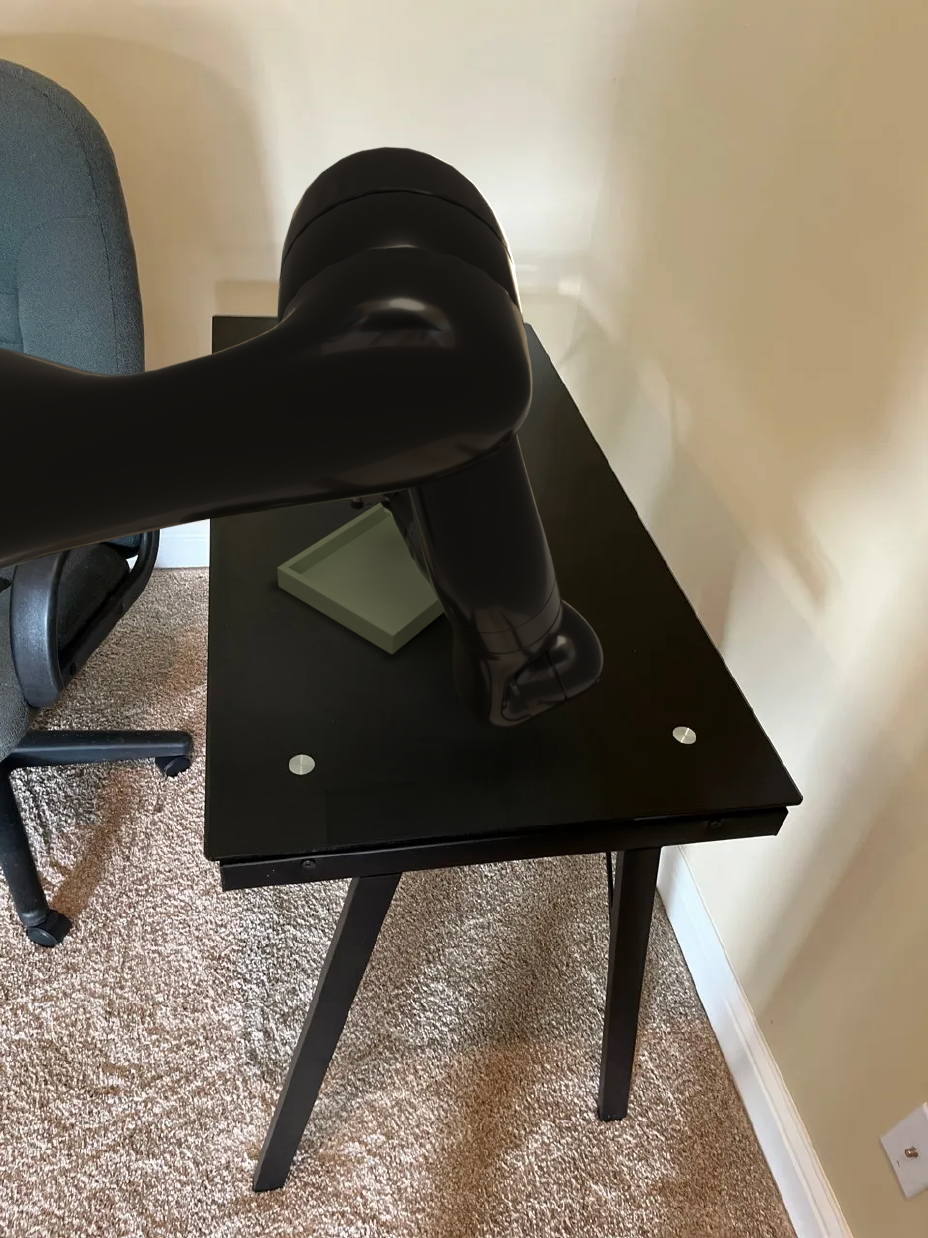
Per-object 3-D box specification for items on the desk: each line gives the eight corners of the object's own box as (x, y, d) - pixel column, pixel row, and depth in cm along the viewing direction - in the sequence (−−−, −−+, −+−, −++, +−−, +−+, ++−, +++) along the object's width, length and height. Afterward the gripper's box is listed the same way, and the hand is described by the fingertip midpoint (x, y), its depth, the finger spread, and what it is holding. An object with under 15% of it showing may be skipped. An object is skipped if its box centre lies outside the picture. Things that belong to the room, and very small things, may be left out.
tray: (392, 655, 82) (393, 636, 80) (278, 586, 88) (276, 567, 86) (501, 564, 94) (504, 546, 92) (395, 509, 100) (396, 491, 98)
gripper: (534, 486, 69) (464, 393, 81) (369, 506, 65) (320, 404, 77) (521, 557, 74) (457, 459, 86) (367, 580, 70) (322, 474, 82)
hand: (393, 434), depth 81 cm, fingers closed on milkshake, 4 cm apart
